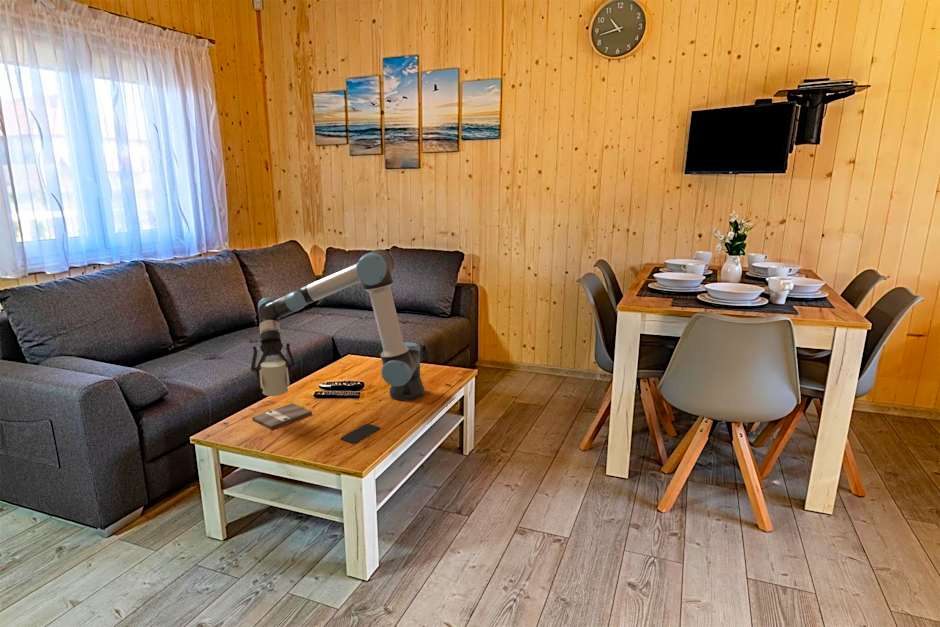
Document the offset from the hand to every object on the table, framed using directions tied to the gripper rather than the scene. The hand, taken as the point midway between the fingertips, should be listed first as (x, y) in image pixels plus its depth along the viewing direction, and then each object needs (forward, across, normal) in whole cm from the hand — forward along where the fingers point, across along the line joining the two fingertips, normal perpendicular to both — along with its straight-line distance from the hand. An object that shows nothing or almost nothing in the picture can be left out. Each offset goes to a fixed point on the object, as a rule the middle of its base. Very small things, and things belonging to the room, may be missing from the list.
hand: (275, 385), depth 211 cm
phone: (+26, -28, +4) cm, 38 cm away
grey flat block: (+8, -2, -14) cm, 16 cm away
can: (+1, 0, -5) cm, 5 cm away
